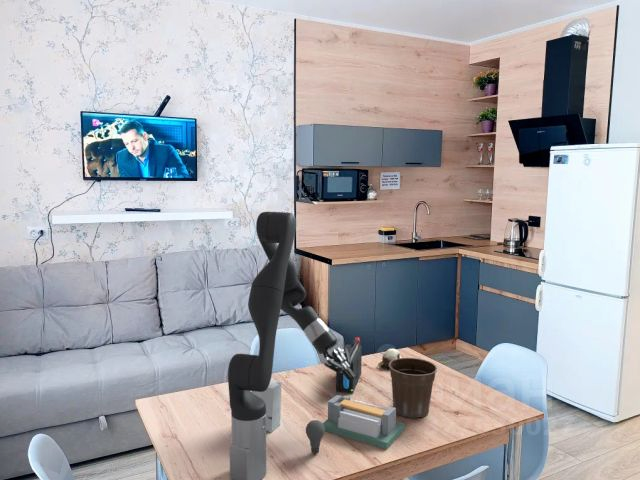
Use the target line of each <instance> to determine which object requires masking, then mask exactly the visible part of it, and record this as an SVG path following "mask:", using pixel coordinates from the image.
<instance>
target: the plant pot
mask: <svg viewBox="0 0 640 480" xmlns="http://www.w3.org/2000/svg"><path fill="white" fill-rule="evenodd" d="M389 368H390V370H389V372H390V373H389V374H390V378H391V389H392V407H394V408H396V415H398V416H401V417H404V418H410V419H417V418H420V417H421V418H424V417H427V416H428V415H429V411H430V405H431V398H432V390H433V385H434V382H435V378H436V373H437V372H438V367H437V365H436V364H435V363H434V362H431V361H429V360H426V359H422V358H418V357H417V358H415V357H401V358H399V359H395V360H392V361H391V362H390V363H389Z"/></svg>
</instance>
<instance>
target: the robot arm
mask: <svg viewBox="0 0 640 480" xmlns="http://www.w3.org/2000/svg"><path fill="white" fill-rule="evenodd" d="M255 223H256V225H255V230H256V235H257V238H258V241H259V243H260V245H261V247H262V249H263V252H264V253H265V256H266V257H267V259H268V262H267V264H266V265H265V266H264V267H263V268H261V270H260V271H259V273H258V274H257V275H256V276H255V278H253V280H252V283H251V284H250V285H251V286H250V290H249V291H250V292H249V296H248V302H247V307H248V311H249V315H250V317H251V320H252V322H253V325H254V327H255V328H256V331H257V335H258V340H259V349H258V354H250V353H249V354H247V353H236V354H234V355H232V357H231V358H230V359H229V360H230V361H229V364H228V369H227V384H228V396H229V408H230V411H231V412H230V413H231V416H230V417H231V419H230V420H231V421H230V422H231V443H230V444H229V478H230V479H232V480H262V479H263V478H265V476H266V475H267V431H266V404H265V402H264V400H263V399H261V398H260V397H258V396H256V395H254V394H253V393H252V391H257V392H264V391H265V390H267V388H268V386H269V384H270V380H272V375H273V367H274V358H275V355H274V354H275V347H276V337H277V331H278V325H279V324H278V323H279V320H280V319H279V318H280V314H281V311H282V312H284V313H285V314H286V315H288V316H289V317H290V318H291V319H293V320H294V322H296V323H297V325H298V326H299V328H300V329H301V330H302V331H303V333H304V335H305V337H306V338H307V339H308V341H309V343H311V345H312V346H313V347H314V349H315V350H316V352H317V353H318V354H319V355H321V354H322V355H323V358H324V359H325V361H324V362H323V365H324V366H325V367H326V368H328V369H330V370H331V371H333V372H335V373H336V372H337V373H339V372H341V373H343V374H344V375H345V377H346V378H347V379H348V380H349V381H350V382H351V381H352V380H353V379H355V378H356V376H355V374H354V373H353V372H352V370H351V369H350V364H351V360H350V356H349V352H348V350H347V349H345V350H343V349H344V348H341V346H340V345H339V344H338V343H337V342H338V338H337V337H336V335H335V334H334V333H333V331H332V330H331V329H330V328H329V326H328V325H327V324H326V323H325V321H324V320H322V319H321V317H320V316H319V314H318V313H317V312H316V310H315V309H314V308H313V307H312V306H310V305H306V306H305V307H301V308H298V307H296V306H298V305H300V304H301V303H302V302H304V300H305V299H306V297H307V291H306V289H305V287H304V286H303V285H302V284H301V282H300V280H299V278H298V273H297V269H296V265H295V263H294V261H293V260H292V258H291V257H290V256H291V252H292V248H293V245H294V241H295V237H296V232H297V231H296V230H297V219H296V216H295V214H293V213H291V212H286V211H285V212H284V211H283V212H282V211H262V212H260V213H259V215H258V216H257V219H256V222H255Z"/></svg>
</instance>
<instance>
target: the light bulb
mask: <svg viewBox="0 0 640 480" xmlns="http://www.w3.org/2000/svg"><path fill="white" fill-rule="evenodd" d="M322 423H323V422H322V421H320V420H318V419H312V420H310V421H309V422H307V425H306V427H305V433H306V436H307V438H308V439H309V442H310V443H309V445H310V451H311V453H312V454H314V455H317V454H318V453H319V452H320V447H321V441H322V439H323V437H324V435H325V433H326V431H325V427H324V425H323V424H322Z"/></svg>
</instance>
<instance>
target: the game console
mask: <svg viewBox="0 0 640 480" xmlns="http://www.w3.org/2000/svg"><path fill="white" fill-rule="evenodd" d="M352 341H353V342H352V344H345V345H344V347H343V348H342V349H343V350H345V349H347V350H348V352H349V356H350V360H351V364H350V369H351V370H352V372H353V373H354V374H355V376H356V378H355V379H353V380H352V381H351V382H350V381H349V380H348V379H347V378H346V377H345V375H344V374H343V373H341V372H339V373H337V372H335V376H336V377H335V391H336V393H337V392H338V393H347V394H348V393H350V394H354V391H355V389H356V388H357V384H358V382H359V380H360V378H361V376H362V358H363V357H362V354H363V353H362V349H363V347H362V345H361V339H360V337H359V336H358V337H354V338H352Z"/></svg>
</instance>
